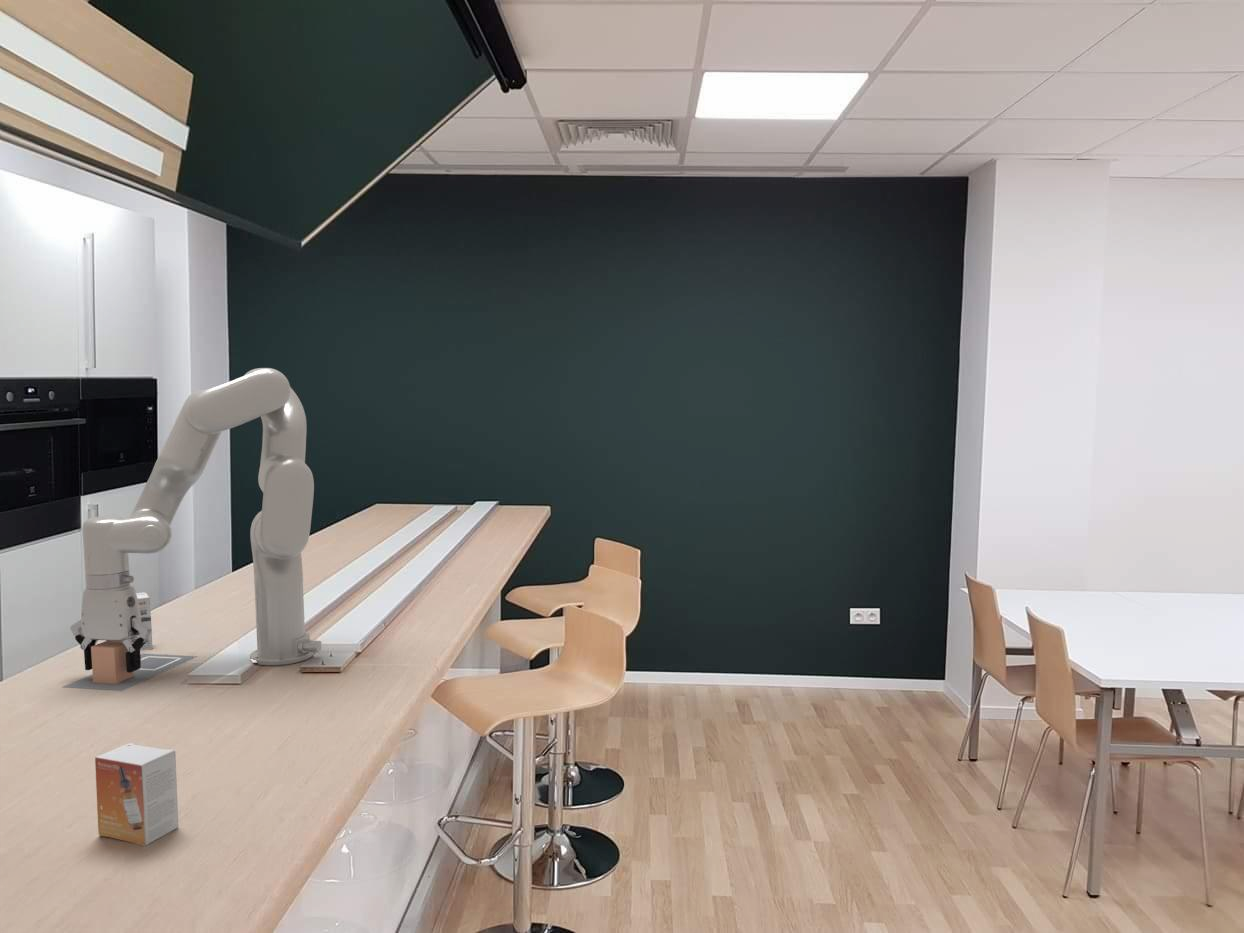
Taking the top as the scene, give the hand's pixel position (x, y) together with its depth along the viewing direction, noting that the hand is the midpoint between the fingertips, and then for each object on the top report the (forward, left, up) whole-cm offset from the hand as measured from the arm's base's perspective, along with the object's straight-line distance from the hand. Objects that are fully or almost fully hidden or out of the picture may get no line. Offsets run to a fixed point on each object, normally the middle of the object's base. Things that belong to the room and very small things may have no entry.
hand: (113, 669), depth 191 cm
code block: (0, 0, -2) cm, 2 cm away
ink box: (+12, -20, -3) cm, 23 cm away
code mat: (0, -6, -2) cm, 6 cm away
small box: (-48, +56, -3) cm, 74 cm away
